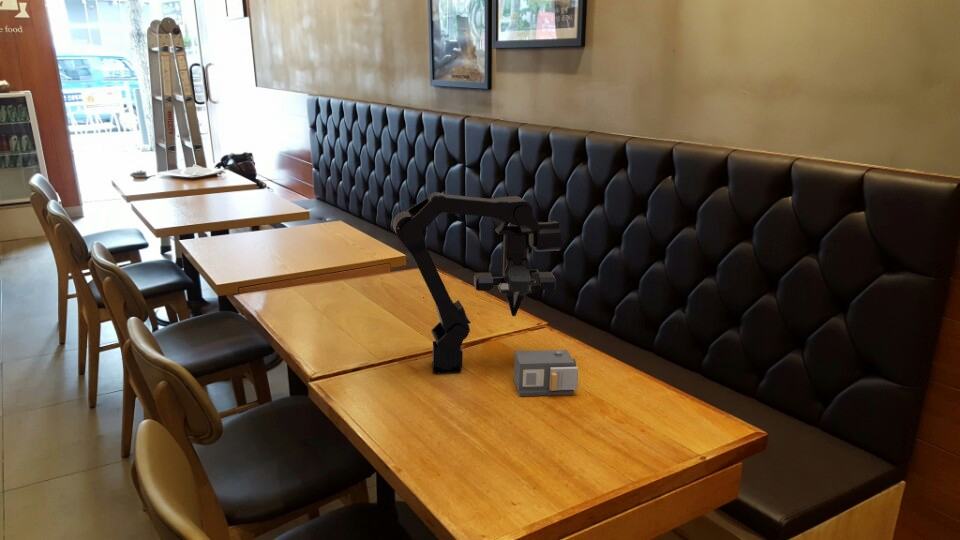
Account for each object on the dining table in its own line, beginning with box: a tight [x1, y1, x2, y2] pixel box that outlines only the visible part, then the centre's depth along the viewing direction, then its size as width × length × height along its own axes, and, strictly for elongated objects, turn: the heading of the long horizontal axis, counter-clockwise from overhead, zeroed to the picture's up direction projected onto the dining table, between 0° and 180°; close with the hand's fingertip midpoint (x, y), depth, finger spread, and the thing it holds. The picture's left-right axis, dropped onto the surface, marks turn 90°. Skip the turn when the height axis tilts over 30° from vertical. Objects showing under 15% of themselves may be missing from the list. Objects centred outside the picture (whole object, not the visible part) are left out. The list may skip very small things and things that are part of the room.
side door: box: [549, 366, 579, 391], centre depth 146 cm, size 6×2×5 cm, turn 96°
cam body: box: [513, 349, 577, 397], centre depth 150 cm, size 13×8×8 cm, turn 96°
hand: (513, 315), depth 160 cm, fingers closed
